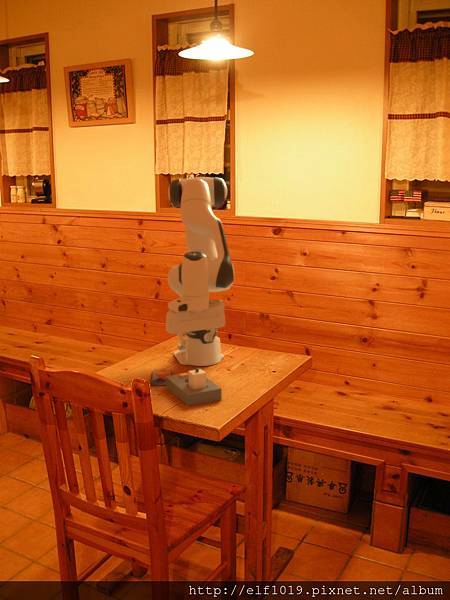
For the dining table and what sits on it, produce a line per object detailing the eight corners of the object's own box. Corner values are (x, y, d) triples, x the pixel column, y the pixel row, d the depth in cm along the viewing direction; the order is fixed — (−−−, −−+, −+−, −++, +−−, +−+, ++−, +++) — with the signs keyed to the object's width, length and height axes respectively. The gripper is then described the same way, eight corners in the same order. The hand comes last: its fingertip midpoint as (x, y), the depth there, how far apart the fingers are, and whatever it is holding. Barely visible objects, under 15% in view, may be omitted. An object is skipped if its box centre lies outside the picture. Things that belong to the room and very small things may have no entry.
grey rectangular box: (165, 387, 219) (165, 374, 218) (196, 381, 224) (196, 369, 223) (188, 406, 201) (188, 392, 200) (221, 399, 207) (221, 386, 206)
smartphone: (150, 388, 220) (150, 385, 220) (152, 373, 235) (152, 370, 234) (171, 387, 220) (171, 384, 220) (172, 372, 235) (172, 370, 235)
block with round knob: (189, 396, 210) (188, 367, 208) (200, 394, 212) (200, 365, 210) (194, 400, 206) (193, 371, 204) (206, 398, 208) (205, 369, 206)
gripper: (219, 296, 209) (220, 336, 213) (163, 303, 200) (164, 344, 204) (228, 300, 204) (228, 341, 207) (170, 308, 195) (171, 350, 198)
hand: (196, 343), depth 205 cm, fingers open, 8 cm apart
